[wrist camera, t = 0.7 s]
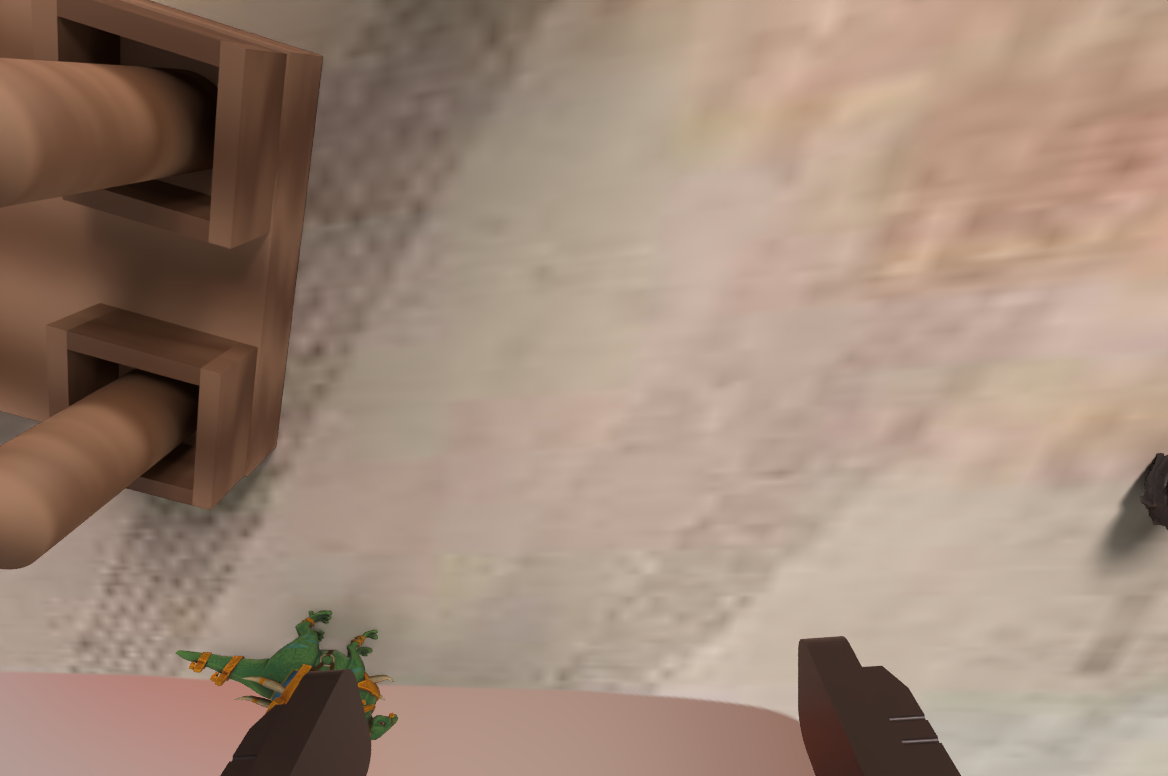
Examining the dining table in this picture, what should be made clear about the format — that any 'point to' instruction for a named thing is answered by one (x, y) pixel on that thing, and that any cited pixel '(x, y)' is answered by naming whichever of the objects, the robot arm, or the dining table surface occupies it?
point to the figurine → (298, 670)
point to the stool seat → (142, 255)
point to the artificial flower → (1157, 491)
